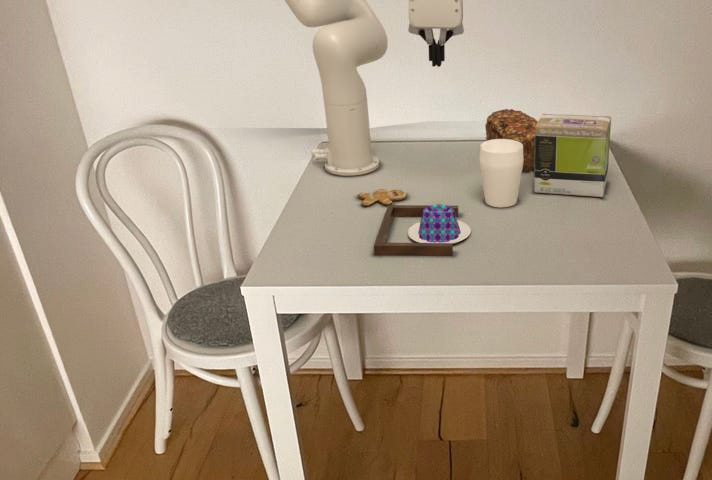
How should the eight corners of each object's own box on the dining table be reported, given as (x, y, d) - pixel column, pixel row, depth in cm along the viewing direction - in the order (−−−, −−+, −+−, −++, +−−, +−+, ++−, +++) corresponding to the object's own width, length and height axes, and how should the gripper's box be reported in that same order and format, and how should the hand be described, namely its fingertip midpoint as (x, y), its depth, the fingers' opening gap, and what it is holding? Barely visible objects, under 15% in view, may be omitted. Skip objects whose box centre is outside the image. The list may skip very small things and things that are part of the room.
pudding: (471, 221, 150) (471, 197, 147) (469, 248, 140) (469, 222, 137) (411, 221, 150) (409, 197, 148) (404, 248, 140) (403, 222, 138)
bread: (484, 149, 186) (484, 108, 181) (524, 144, 189) (525, 104, 184) (513, 175, 172) (514, 131, 166) (556, 168, 175) (558, 126, 169)
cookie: (355, 190, 162) (401, 184, 165) (356, 194, 162) (401, 188, 165) (362, 204, 155) (410, 198, 158) (363, 209, 156) (410, 202, 158)
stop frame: (374, 255, 138) (373, 245, 137) (388, 214, 154) (388, 204, 153) (452, 255, 138) (451, 246, 137) (458, 214, 153) (458, 205, 152)
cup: (519, 211, 154) (520, 154, 148) (475, 208, 156) (474, 152, 149) (525, 195, 162) (527, 140, 155) (484, 192, 163) (483, 137, 157)
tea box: (607, 181, 168) (612, 115, 160) (603, 199, 159) (608, 129, 151) (540, 176, 170) (542, 111, 163) (532, 193, 162) (534, 125, 154)
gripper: (476, -40, 143) (475, 61, 153) (397, -41, 143) (401, 59, 153) (474, -34, 136) (473, 70, 146) (391, -36, 137) (396, 69, 147)
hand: (437, 64), depth 150 cm, fingers closed
